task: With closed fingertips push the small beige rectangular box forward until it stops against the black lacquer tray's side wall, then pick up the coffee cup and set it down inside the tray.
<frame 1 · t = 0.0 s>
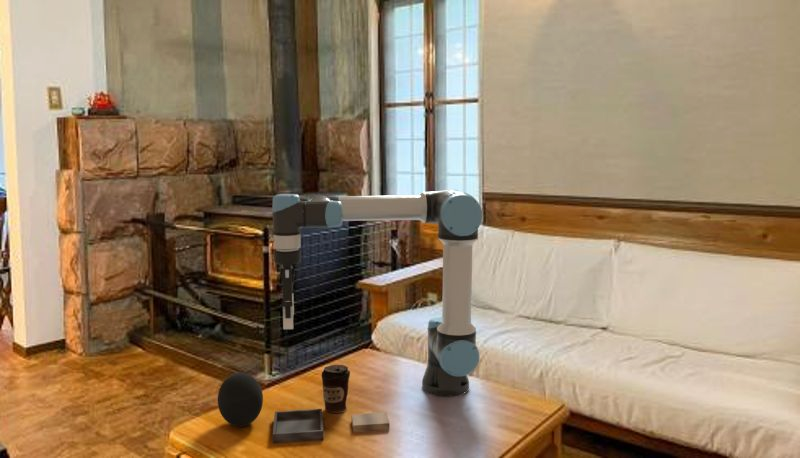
hand: (288, 322, 187), 28 cm above the table, fingers open, 13 cm apart
beige rectangular box: (370, 427, 184), on the table
decorative egg: (241, 425, 184), on the table
coffee cup: (336, 410, 194), on the table
tray: (298, 429, 181), on the table
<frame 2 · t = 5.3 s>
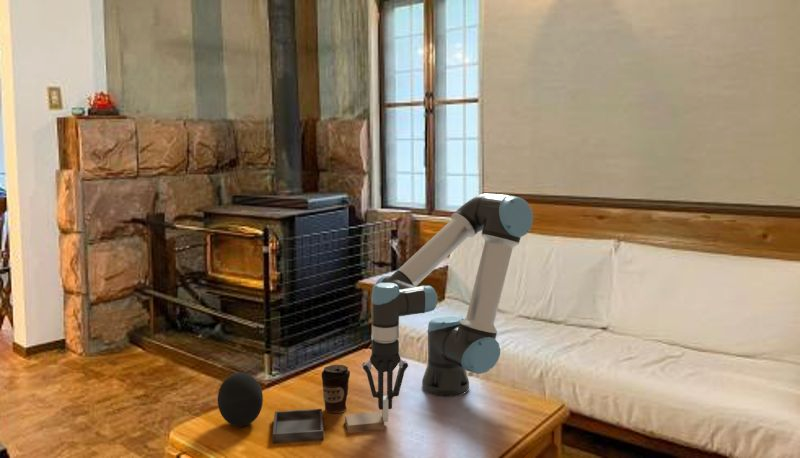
hand: (385, 419, 184), 2 cm above the table, fingers closed
beige rectangular box: (364, 426, 184), on the table
everything else where it was.
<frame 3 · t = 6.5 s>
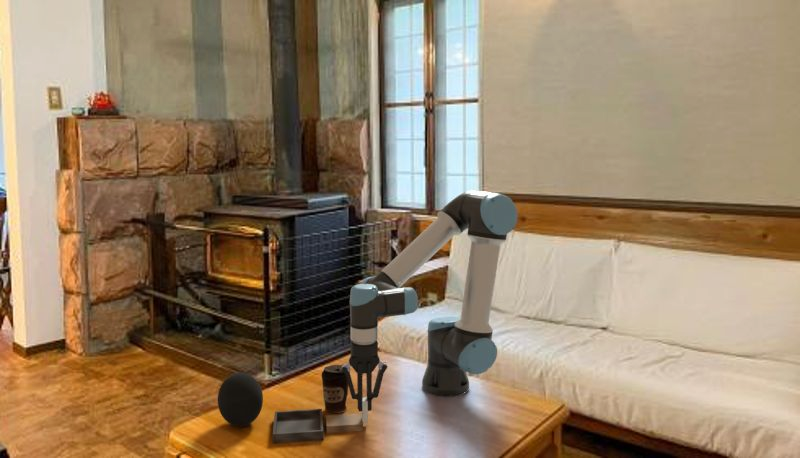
hand: (364, 421, 183), 1 cm above the table, fingers closed
beige rectangular box: (344, 428, 183), on the table
everything else where it was.
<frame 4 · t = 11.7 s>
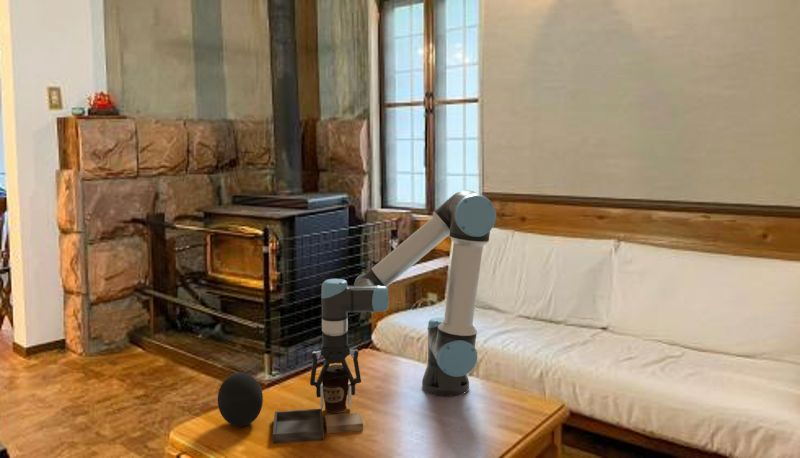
hand: (335, 405, 194), 1 cm above the table, fingers closed on coffee cup, 8 cm apart
coffee cup: (336, 410, 194), on the table, touching gripper
everything else where it was.
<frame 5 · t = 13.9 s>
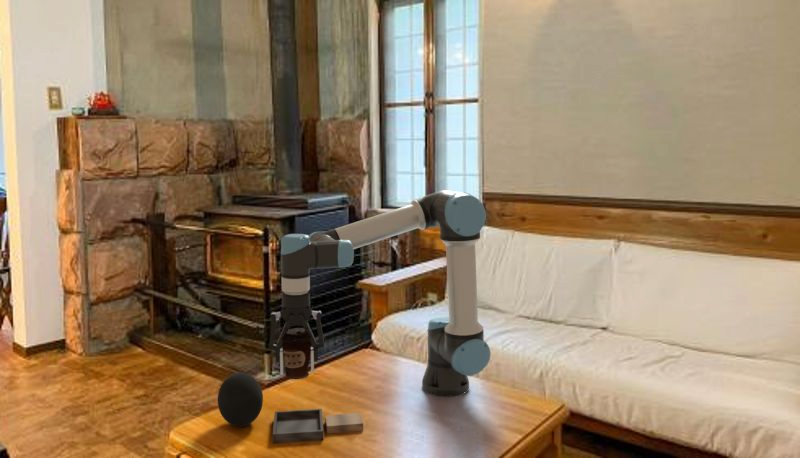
hand: (297, 372, 179), 16 cm above the table, fingers closed on coffee cup, 8 cm apart
coffee cup: (297, 377, 179), point 15 cm above the table, touching gripper
everything else where it was.
when the fingers open (4 cm above the table, at t = 16.6 s): coffee cup drops 2 cm, resting on tray.
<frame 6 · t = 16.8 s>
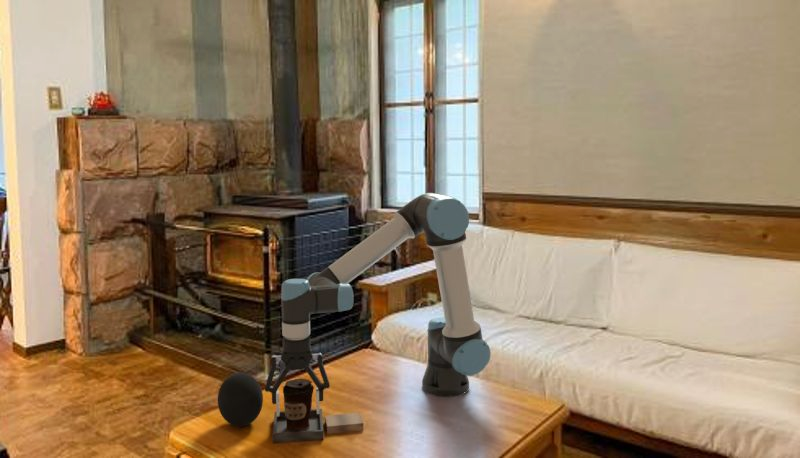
hand: (298, 413, 181), 5 cm above the table, fingers open, 10 cm apart
coffee cup: (298, 427, 181), resting on tray
everything else where it was.
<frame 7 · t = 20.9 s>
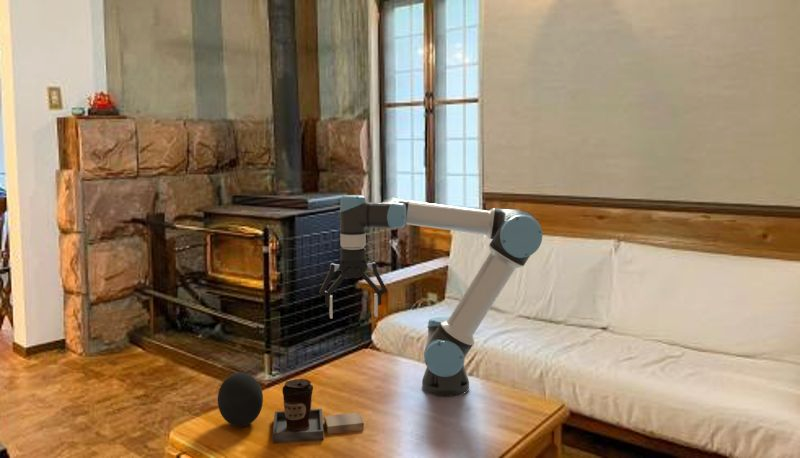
hand: (353, 316, 197), 27 cm above the table, fingers open, 13 cm apart
nothing on the table moved.
at the end: beige rectangular box 0.9 cm from the target spot, on the table; coffee cup 0.1 cm from the tray (horizontally); coffee cup tilted 0° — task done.
